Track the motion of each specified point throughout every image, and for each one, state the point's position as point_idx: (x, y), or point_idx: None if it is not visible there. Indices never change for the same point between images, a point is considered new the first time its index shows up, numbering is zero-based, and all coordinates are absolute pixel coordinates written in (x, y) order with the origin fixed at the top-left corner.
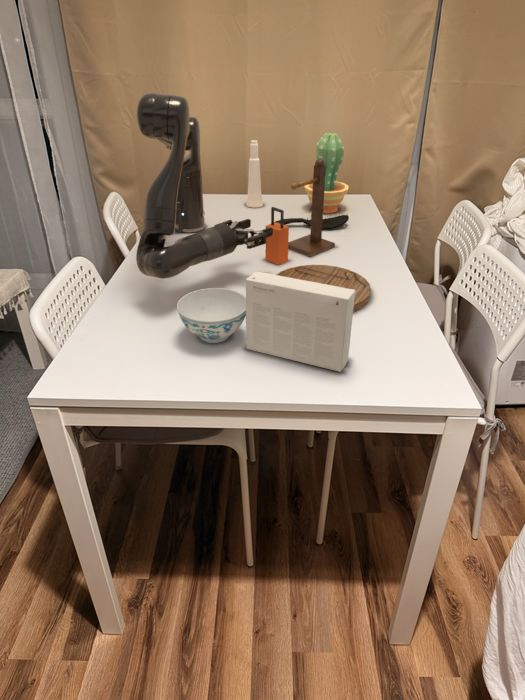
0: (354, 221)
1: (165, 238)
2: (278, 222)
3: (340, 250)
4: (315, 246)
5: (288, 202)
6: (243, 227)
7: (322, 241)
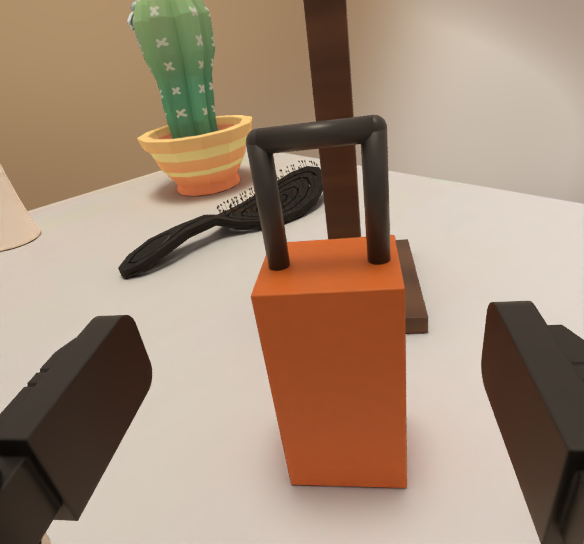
0: None
1: None
2: (143, 255)
3: (445, 254)
4: None
5: (105, 203)
6: (97, 450)
7: None
